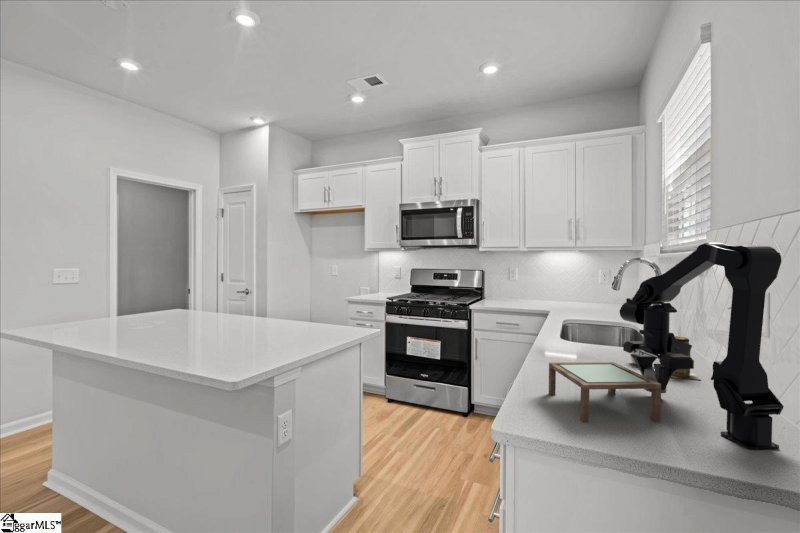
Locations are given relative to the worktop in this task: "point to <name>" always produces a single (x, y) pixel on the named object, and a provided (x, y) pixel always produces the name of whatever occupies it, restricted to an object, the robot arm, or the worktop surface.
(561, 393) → the worktop surface
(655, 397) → the stand
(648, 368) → the cylinder
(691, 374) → the condiment
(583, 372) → the trapdoor
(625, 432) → the worktop surface
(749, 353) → the robot arm
